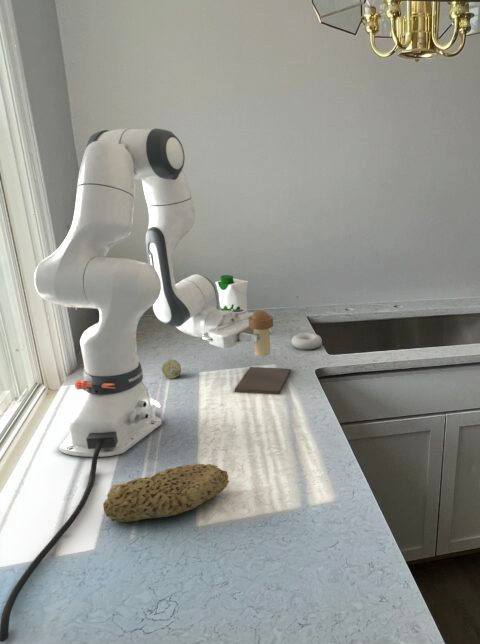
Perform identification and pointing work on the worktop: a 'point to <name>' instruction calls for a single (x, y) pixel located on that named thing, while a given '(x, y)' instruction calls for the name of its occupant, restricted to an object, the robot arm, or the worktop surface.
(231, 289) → the milk carton
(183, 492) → the sponge
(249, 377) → the board
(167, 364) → the olive green ball
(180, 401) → the worktop surface
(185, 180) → the robot arm
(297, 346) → the donut
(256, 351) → the mushroom
